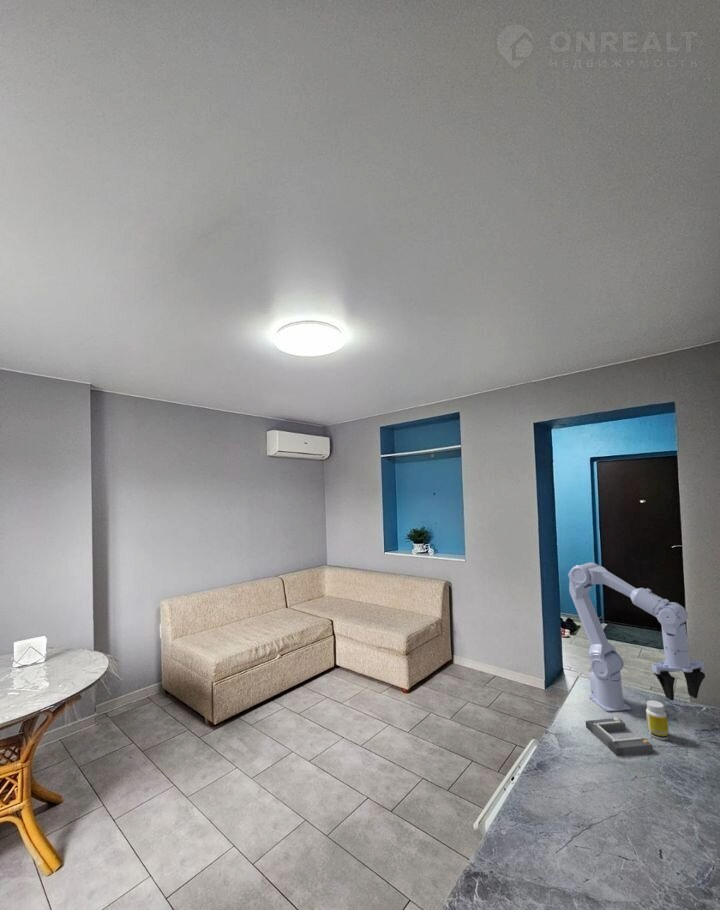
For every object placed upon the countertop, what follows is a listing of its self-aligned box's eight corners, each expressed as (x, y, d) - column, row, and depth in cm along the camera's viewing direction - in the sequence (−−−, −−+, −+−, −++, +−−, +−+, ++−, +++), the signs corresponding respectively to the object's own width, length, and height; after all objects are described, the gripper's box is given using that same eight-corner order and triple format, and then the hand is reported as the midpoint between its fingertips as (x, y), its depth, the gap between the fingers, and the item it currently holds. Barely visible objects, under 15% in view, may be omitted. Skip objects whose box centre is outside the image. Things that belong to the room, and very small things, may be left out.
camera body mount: (586, 727, 120) (585, 718, 121) (618, 724, 121) (617, 715, 121) (616, 755, 107) (615, 745, 108) (652, 751, 108) (651, 742, 108)
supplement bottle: (673, 740, 113) (669, 707, 113) (655, 740, 113) (652, 708, 114) (660, 730, 118) (657, 699, 118) (644, 730, 118) (641, 699, 118)
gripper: (663, 655, 113) (668, 707, 112) (712, 651, 114) (718, 702, 113) (643, 645, 120) (648, 694, 119) (690, 642, 121) (695, 690, 120)
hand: (681, 697), depth 117 cm, fingers open, 6 cm apart
